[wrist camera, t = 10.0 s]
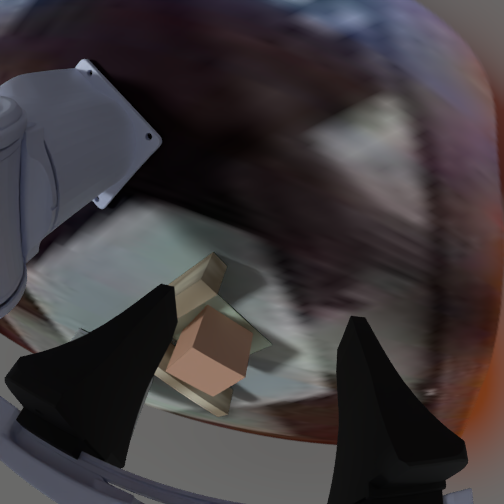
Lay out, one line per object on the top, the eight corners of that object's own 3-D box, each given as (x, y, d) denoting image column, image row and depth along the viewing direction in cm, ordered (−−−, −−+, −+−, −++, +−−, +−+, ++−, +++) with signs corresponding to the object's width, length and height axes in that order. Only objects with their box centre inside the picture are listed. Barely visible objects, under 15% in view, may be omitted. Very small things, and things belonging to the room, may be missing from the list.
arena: (125, 316, 29) (111, 340, 26) (213, 252, 23) (201, 279, 20) (223, 392, 34) (217, 416, 31) (319, 357, 28) (319, 386, 25)
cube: (181, 331, 28) (165, 371, 24) (207, 304, 26) (192, 347, 22) (223, 356, 29) (213, 396, 25) (253, 333, 27) (245, 377, 23)
